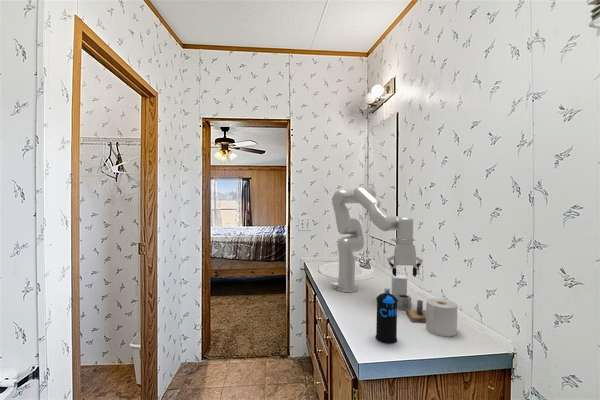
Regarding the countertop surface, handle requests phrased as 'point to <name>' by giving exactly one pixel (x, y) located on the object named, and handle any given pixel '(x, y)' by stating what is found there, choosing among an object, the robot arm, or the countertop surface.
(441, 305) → the toilet paper roll
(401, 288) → the supplement box
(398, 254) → the robot arm
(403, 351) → the countertop surface
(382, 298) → the aerosol can
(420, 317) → the shaft block
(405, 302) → the hub
